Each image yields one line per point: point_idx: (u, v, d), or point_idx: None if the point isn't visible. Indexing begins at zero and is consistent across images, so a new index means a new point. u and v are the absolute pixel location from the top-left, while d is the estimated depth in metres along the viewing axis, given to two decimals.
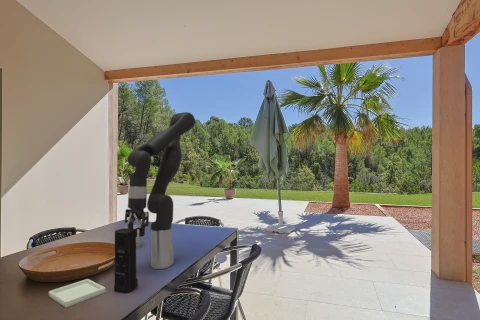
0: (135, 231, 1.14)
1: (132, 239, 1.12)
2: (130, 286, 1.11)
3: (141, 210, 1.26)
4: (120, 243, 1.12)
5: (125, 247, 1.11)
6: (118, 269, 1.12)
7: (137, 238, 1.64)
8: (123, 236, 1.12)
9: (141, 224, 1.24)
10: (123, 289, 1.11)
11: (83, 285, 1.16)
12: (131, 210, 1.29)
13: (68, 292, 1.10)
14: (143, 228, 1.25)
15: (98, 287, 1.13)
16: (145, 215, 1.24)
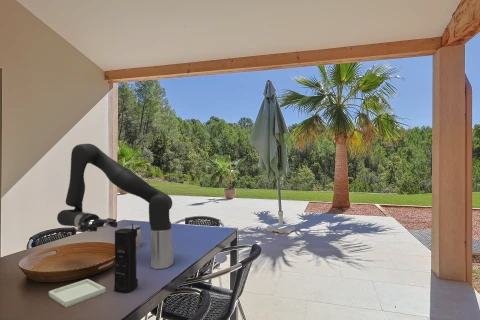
0: (135, 231, 1.14)
1: (132, 239, 1.12)
2: (130, 286, 1.11)
3: (84, 225, 1.25)
4: (120, 243, 1.12)
5: (125, 247, 1.11)
6: (118, 269, 1.12)
7: (137, 238, 1.64)
8: (122, 236, 1.12)
9: None
10: (123, 289, 1.11)
11: (83, 285, 1.16)
12: None
13: (68, 292, 1.10)
14: (89, 228, 1.20)
15: (98, 287, 1.13)
16: (78, 227, 1.22)
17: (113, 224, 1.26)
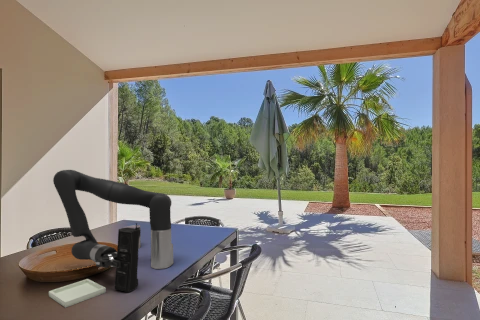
0: (138, 231, 1.15)
1: (135, 238, 1.13)
2: (130, 285, 1.11)
3: None
4: (123, 242, 1.13)
5: (128, 246, 1.12)
6: (119, 268, 1.12)
7: None
8: (126, 235, 1.12)
9: None
10: (123, 288, 1.11)
11: (83, 285, 1.16)
12: None
13: (68, 292, 1.10)
14: (112, 264, 1.12)
15: (98, 287, 1.13)
16: (97, 264, 1.13)
17: None
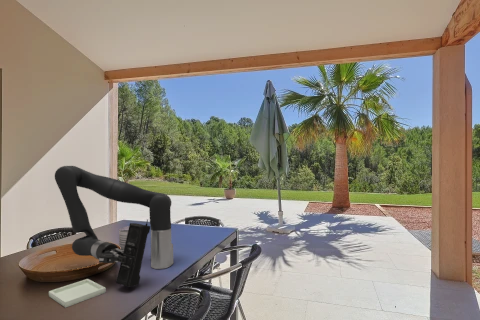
0: (148, 227, 1.18)
1: (144, 234, 1.16)
2: (131, 280, 1.11)
3: None
4: (131, 236, 1.16)
5: (136, 240, 1.14)
6: None
7: None
8: (136, 229, 1.15)
9: None
10: (124, 282, 1.11)
11: (83, 285, 1.16)
12: None
13: (68, 292, 1.10)
14: (117, 259, 1.13)
15: (98, 287, 1.13)
16: (101, 260, 1.13)
17: None
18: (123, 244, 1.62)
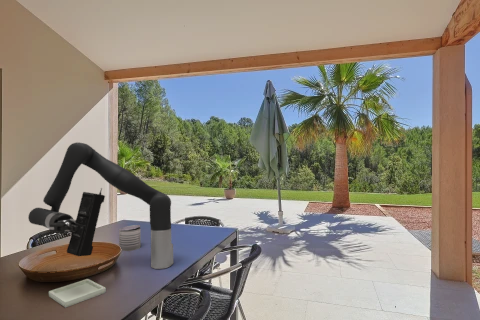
0: (102, 196, 1.13)
1: (97, 202, 1.11)
2: (82, 250, 1.07)
3: None
4: (84, 205, 1.11)
5: (88, 209, 1.10)
6: None
7: (137, 238, 1.64)
8: (88, 198, 1.11)
9: None
10: (74, 251, 1.07)
11: (83, 285, 1.16)
12: None
13: (68, 292, 1.10)
14: (68, 228, 1.09)
15: (98, 287, 1.13)
16: (52, 229, 1.09)
17: None
18: (123, 244, 1.62)
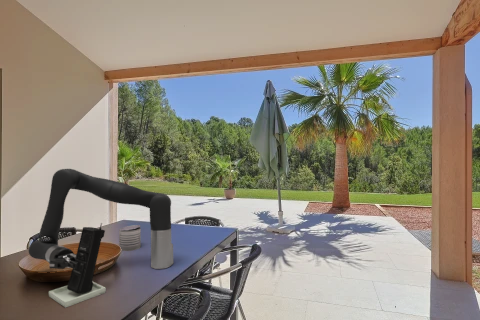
0: (102, 231, 1.13)
1: (97, 238, 1.11)
2: (82, 287, 1.07)
3: None
4: (84, 241, 1.11)
5: (88, 245, 1.10)
6: None
7: (137, 238, 1.64)
8: (88, 234, 1.11)
9: None
10: (75, 289, 1.07)
11: None
12: None
13: (68, 292, 1.10)
14: (68, 265, 1.09)
15: (98, 287, 1.13)
16: (52, 266, 1.09)
17: None
18: (123, 244, 1.62)
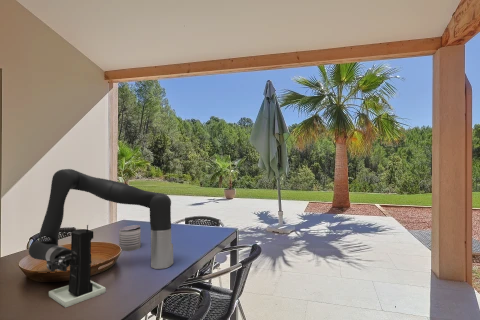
0: (90, 233, 1.09)
1: (85, 241, 1.08)
2: (80, 290, 1.07)
3: (55, 262, 1.13)
4: (74, 244, 1.09)
5: (77, 249, 1.07)
6: (71, 271, 1.08)
7: (137, 238, 1.64)
8: (76, 237, 1.08)
9: None
10: (74, 292, 1.07)
11: None
12: None
13: (68, 292, 1.10)
14: (58, 267, 1.07)
15: (98, 287, 1.13)
16: (47, 266, 1.09)
17: None
18: (123, 244, 1.61)
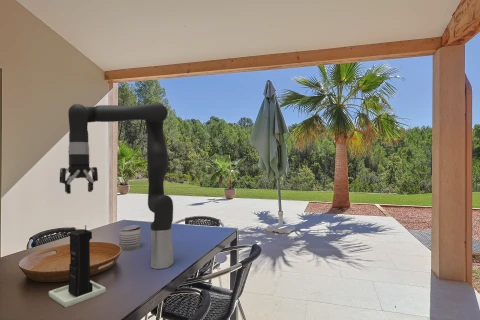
0: (88, 233, 1.09)
1: (83, 241, 1.08)
2: (80, 290, 1.07)
3: (69, 166, 1.20)
4: (73, 245, 1.09)
5: (76, 249, 1.07)
6: (71, 271, 1.08)
7: (137, 238, 1.64)
8: (75, 238, 1.08)
9: None
10: (73, 293, 1.07)
11: None
12: None
13: (68, 292, 1.10)
14: (65, 185, 1.19)
15: (98, 287, 1.13)
16: (60, 171, 1.18)
17: (89, 188, 1.26)
18: (123, 244, 1.61)
